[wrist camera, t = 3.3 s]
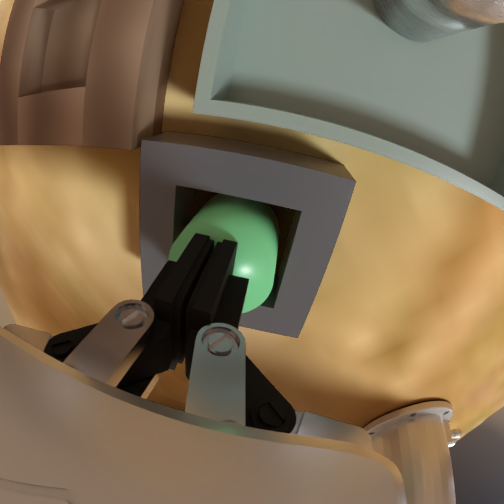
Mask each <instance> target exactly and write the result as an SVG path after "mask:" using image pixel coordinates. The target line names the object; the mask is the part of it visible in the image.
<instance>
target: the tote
mask: <svg viewBox="0 0 504 504" xmlns="http://www.w3.org/2000/svg"><path fill="white" fill-rule="evenodd" d="M193 113H194V114H203V115H211V116H219V117H226V118H233V119H239V120H245V121H251V122H256V123H262V124H267V125H272V126H277V127H282V128H286V129H291V130H295V131H299V132H304V133H308V134H312V135H316V136H319V137H323V138H327V139H331V140H334V141H338V142H341V143H345V144H348V145H351V146H354V147H358V148H361V149H364V150H367V151H370V152H373V153H376V154H379V155H382V156H385V157H388V158H390V159H393V160H396V161H398V162H401V163H404V164H406V165H409V166H411V167H414V168H417V169H419V170H421V171H424V172H426V173H429V174H431V175H433V176H436V177H438V178H440V179H442V180H445V181H447V182H449V183H451V184H453V185H455V186H458V187H460V188H462V189H464V190H466V191H468V192H470V193H472V194H474V195H476V196H478V197H480V198H481V199H483V200H485V201H487V202H489V203H491V204H493V205H494V206H496V207H498V208H500V209H501V210H503V211H504V22H503V23H498V24H493V25H489V26H484V27H480V28H476V29H472V30H469V31H465V32H461V33H458V34H454V35H451V36H448V37H445V38H441V39H438V40H435V41H432V42H428V43H420V42H415V41H411V40H409V39H406V38H404V37H402V36H401V35H399V34H397V33H396V32H395V31H393V30H392V29H391V28H390V27H388V26H387V25H386V24H385V23H384V21H383V20H382V19H381V18H380V16H379V15H378V13H377V11H376V9H375V7H374V4H373V0H214V2H213V7H212V11H211V15H210V19H209V24H208V28H207V33H206V38H205V43H204V48H203V53H202V58H201V63H200V69H199V75H198V81H197V87H196V93H195V99H194V106H193Z"/></svg>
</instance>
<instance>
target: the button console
mask: <svg viewBox="0 0 504 504" xmlns="http://www.w3.org/2000/svg"><path fill="white" fill-rule="evenodd" d="M355 183H356V181H355V179H354V178H353V177H352V175H351V174H350V173H349V171H348V170H347V169H346V168H345V166H344V165H341V164H338V163H334V162H330V161H327V160H323V159H319V158H315V157H311V156H307V155H303V154H299V153H295V152H291V151H286V150H282V149H277V148H273V147H268V146H263V145H258V144H253V143H247V142H242V141H236V140H230V139H224V138H218V137H211V136H204V135H197V134H189V133H181V132H172V131H169V132H165V133H162V134H159V135H156V136H152V137H149V138H146V139H143V140H142V142H141V158H140V188H139V222H140V252H141V270H142V283H143V295H145V294H146V292H147V291H148V289H149V287H150V286H151V284H152V283H153V281H154V280H155V278H156V277H157V276H158V274H159V273H160V271H161V270H162V268H163V267H164V265H165V264H166V262H167V261H168V259H169V253H170V250H171V247H172V245H173V244H174V242H175V240H176V239H177V238H178V237H179V235H180V234H181V233H182V231H183V230H184V229H185V228H186V226H187V225H188V224H189V223H190V221H191V220H192V219H193V210H194V199H195V189H200V190H206V191H211V192H216V193H221V194H226V195H231V196H236V197H241V198H245V199H250V200H255V201H259V202H264V203H268V204H273V205H277V206H282V207H286V208H290V209H295V213H294V217H293V220H292V224H291V228H290V232H289V235H288V239H287V243H286V246H285V250H284V254H283V257H282V261H281V265H280V268H279V272H278V275H274V282H273V287H272V290H271V292H270V294H269V296H268V297H267V299H266V300H265V301H264V302H263V303H262V304H261V305H260V306H258V307H257V308H255V309H253V310H251V311H248V312H246V313H242V315H241V319H240V323H239V326H242V327H247V328H251V329H256V330H260V331H265V332H270V333H275V334H279V335H284V336H290V337H295V338H298V336H299V334H300V332H301V330H302V327H303V325H304V323H305V320H306V318H307V316H308V313H309V311H310V308H311V306H312V304H313V301H314V299H315V296H316V294H317V291H318V289H319V286H320V284H321V281H322V278H323V276H324V273H325V271H326V268H327V265H328V263H329V260H330V257H331V255H332V252H333V249H334V246H335V244H336V241H337V238H338V235H339V232H340V229H341V226H342V224H343V221H344V218H345V215H346V212H347V209H348V206H349V202H350V199H351V196H352V193H353V190H354V187H355Z"/></svg>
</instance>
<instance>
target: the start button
mask: <svg viewBox="0 0 504 504" xmlns="http://www.w3.org/2000/svg"><path fill="white" fill-rule="evenodd" d="M195 233H199V234H203V235H208V236H210V240H213V241H214V248H215V246H216V244H217V242H223V240H224V239H226V240H231V241H235V242H238V246H237V251H236V257H235V263H234V269H233V275H234V276H239V277H243V278H248V279H249V283H248V288H247V292H246V297H245V302H244V306H243V310H242V313H246V312H248V311H251V310H253V309H255V308H257V307H258V306H260V305H261V304H262V303H263V302H264V301H265V300H266V299H267V297H268V296H269V294H270V292H271V290H272V287H273V282H274V275H275V268H276V260H277V252H278V244H279V236H280V228H279V223H278V219H277V217H276V215H275V213H274V211H273V210H272V208H271V207H270V206H269V205H268V204H267V203H264V202H259V201H255V200H250V199H245V198H241V197H236V196H231V195H226V194H221V193H219V194H217V195H215V196H213V197H212V198H210V199H209V200H208V201H207V202H206V203H205V204H204V205H203V207H202V208H201V209H200V210H199V211H198V213H197V214H196V215H195V216H194V218H193V219H192V220H191V221H190V223H189V224H188V225H187V226H186V228H185V229H184V230H183V231H182V233H181V234H180V235H179V237H178V238H177V239H176V240H175V242H174V244H173V245H172V247H171V250H170V253H169V259H168V261H169V260H171V261H175V262H177V260H178V259H179V257H180V256H181V254H182V253H183V251H184V249H185V248H186V246H187V245H188V243H189V242H190V240H191V239H192V237H193V236H194V234H195ZM213 250H214V249H213Z"/></svg>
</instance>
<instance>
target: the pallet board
mask: <svg viewBox="0 0 504 504" xmlns="http://www.w3.org/2000/svg"><path fill="white" fill-rule="evenodd" d="M183 1H184V0H15V1H14V4H13V8H12V11H11V15H10V18H9V22H8V26H7V31H6V35H5V40H4V45H3V50H2V56H1V63H0V145H67V146H87V147H102V148H114V149H125V150H133V149H136V148H138V147H141V142H142V140H143V139H146V138H149V137H152V136H156V135H159V134H161V128H162V118H163V110H164V102H165V94H166V87H167V80H168V74H169V68H170V62H171V56H172V51H173V46H174V40H175V36H176V31H177V26H178V22H179V17H180V13H181V9H182V5H183Z"/></svg>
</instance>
